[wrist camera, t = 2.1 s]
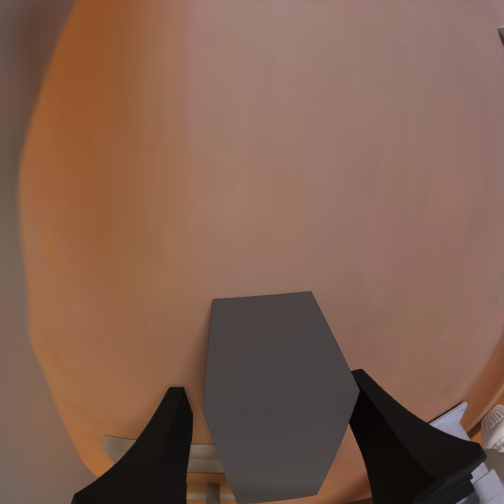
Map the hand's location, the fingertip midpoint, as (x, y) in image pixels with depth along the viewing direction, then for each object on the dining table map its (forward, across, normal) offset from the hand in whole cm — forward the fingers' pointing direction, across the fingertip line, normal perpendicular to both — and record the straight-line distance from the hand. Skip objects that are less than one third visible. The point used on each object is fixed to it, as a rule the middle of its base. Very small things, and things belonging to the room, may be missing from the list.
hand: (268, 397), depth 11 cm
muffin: (+2, -29, +18) cm, 34 cm away
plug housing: (+1, 0, 0) cm, 1 cm away
